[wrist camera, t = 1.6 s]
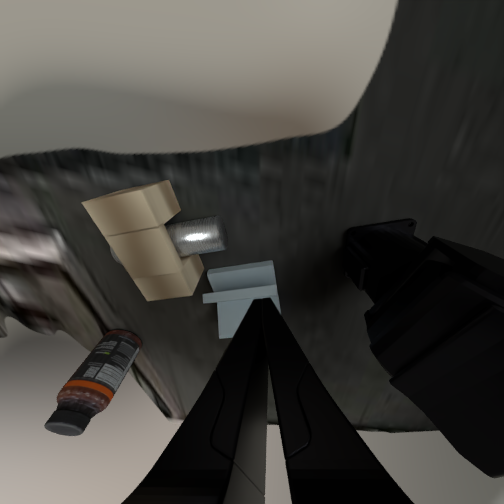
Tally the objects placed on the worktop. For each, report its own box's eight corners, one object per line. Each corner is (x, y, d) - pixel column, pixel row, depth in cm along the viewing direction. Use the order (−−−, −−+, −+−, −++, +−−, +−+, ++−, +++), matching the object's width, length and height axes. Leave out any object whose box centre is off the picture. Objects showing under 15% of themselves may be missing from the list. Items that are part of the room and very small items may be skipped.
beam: (168, 179, 17) (140, 189, 13) (204, 268, 22) (192, 295, 18) (122, 189, 18) (81, 202, 14) (167, 273, 23) (147, 301, 19)
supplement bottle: (121, 351, 32) (61, 440, 22) (98, 330, 29) (18, 422, 19) (150, 346, 31) (101, 438, 21) (129, 325, 28) (62, 418, 18)
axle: (218, 208, 18) (214, 229, 16) (228, 235, 20) (225, 257, 18) (121, 226, 19) (103, 248, 17) (141, 249, 22) (127, 272, 19)
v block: (272, 260, 21) (275, 284, 18) (280, 312, 26) (284, 339, 22) (208, 269, 22) (198, 293, 19) (227, 317, 27) (222, 345, 23)
